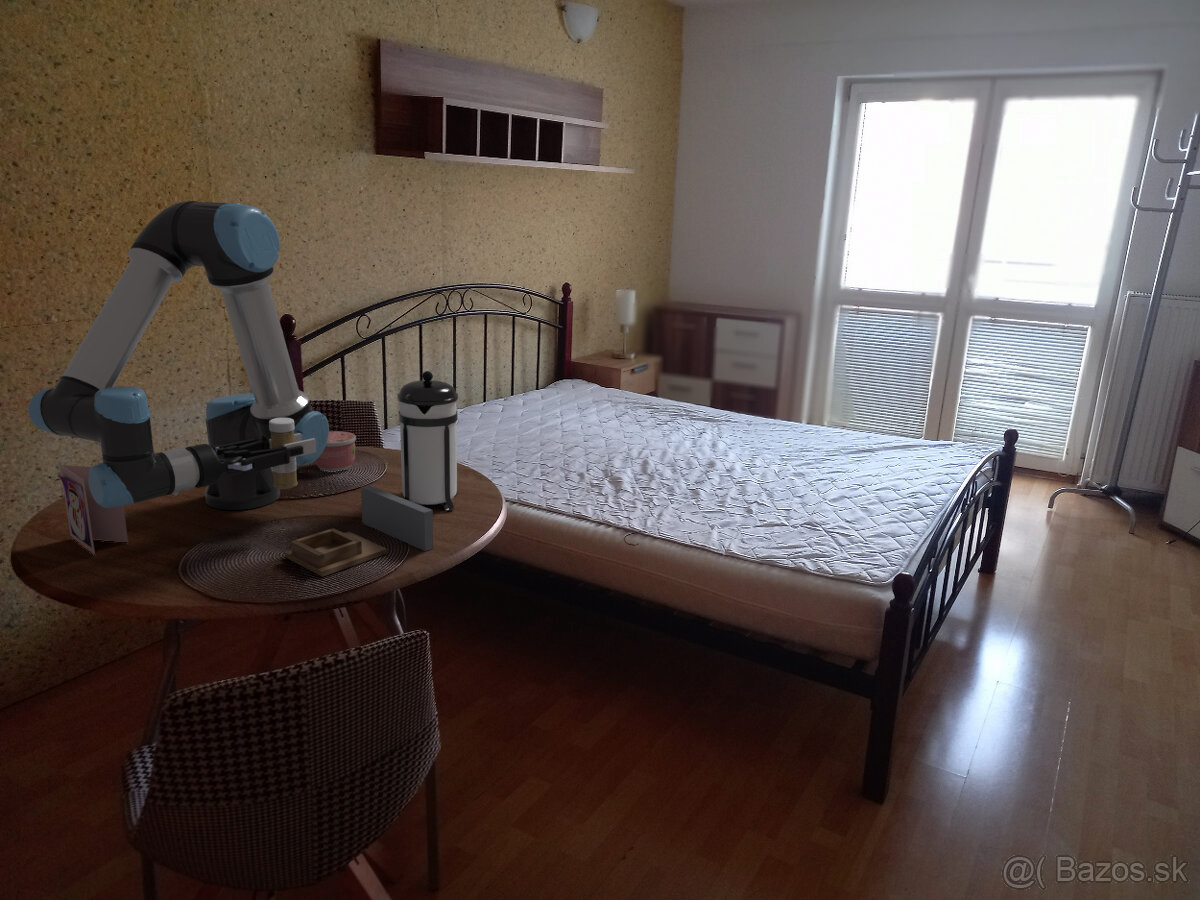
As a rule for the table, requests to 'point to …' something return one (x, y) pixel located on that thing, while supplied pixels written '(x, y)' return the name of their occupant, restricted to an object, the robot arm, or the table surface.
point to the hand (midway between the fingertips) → (307, 442)
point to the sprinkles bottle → (279, 436)
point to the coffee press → (428, 441)
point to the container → (337, 452)
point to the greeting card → (89, 510)
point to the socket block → (332, 551)
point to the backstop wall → (397, 517)
